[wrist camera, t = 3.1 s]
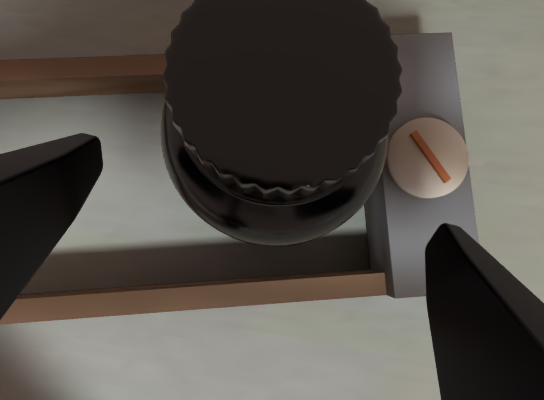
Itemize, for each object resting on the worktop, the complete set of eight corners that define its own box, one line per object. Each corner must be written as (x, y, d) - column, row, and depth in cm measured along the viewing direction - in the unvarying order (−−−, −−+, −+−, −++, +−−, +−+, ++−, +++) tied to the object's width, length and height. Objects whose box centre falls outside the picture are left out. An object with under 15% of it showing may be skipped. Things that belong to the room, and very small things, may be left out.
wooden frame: (448, 283, 19) (493, 293, 15) (-191, 331, 17) (-309, 355, 13) (422, 63, 20) (458, 25, 16) (-173, 87, 18) (-277, 49, 15)
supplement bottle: (331, 117, 19) (454, -79, 8) (333, 245, 19) (473, 252, 7) (203, 114, 19) (117, -95, 7) (199, 244, 18) (98, 251, 6)
